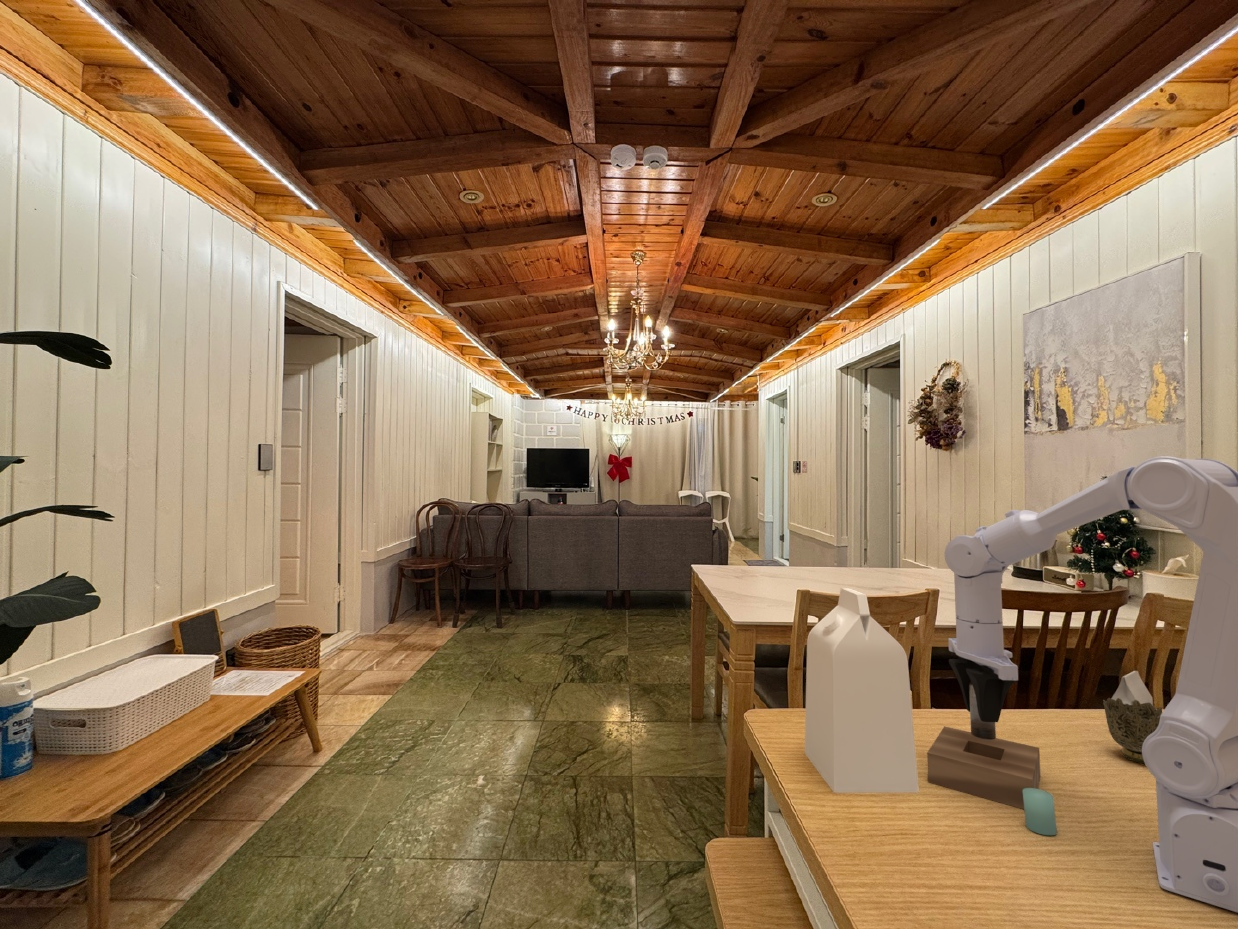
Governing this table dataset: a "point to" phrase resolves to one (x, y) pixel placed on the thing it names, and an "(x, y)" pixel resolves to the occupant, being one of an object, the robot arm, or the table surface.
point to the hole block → (983, 766)
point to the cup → (1131, 725)
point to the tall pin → (977, 726)
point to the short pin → (1039, 811)
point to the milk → (859, 703)
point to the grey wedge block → (1132, 690)
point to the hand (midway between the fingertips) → (982, 716)
